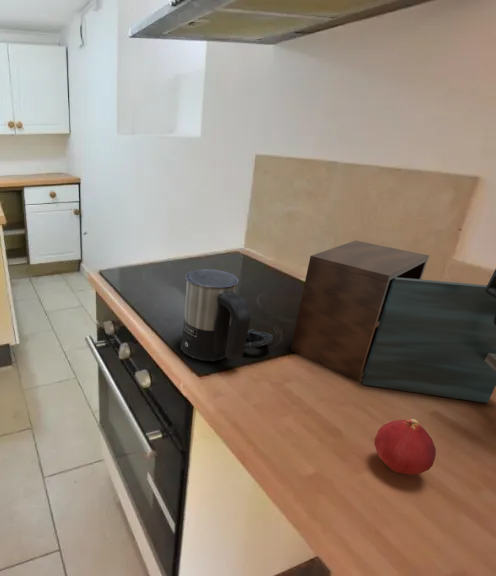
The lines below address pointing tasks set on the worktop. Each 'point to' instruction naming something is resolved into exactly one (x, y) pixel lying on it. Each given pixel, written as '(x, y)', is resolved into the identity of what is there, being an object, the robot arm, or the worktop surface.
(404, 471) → the onion
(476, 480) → the worktop surface
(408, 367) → the door
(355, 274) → the cupboard
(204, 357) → the milk frother
